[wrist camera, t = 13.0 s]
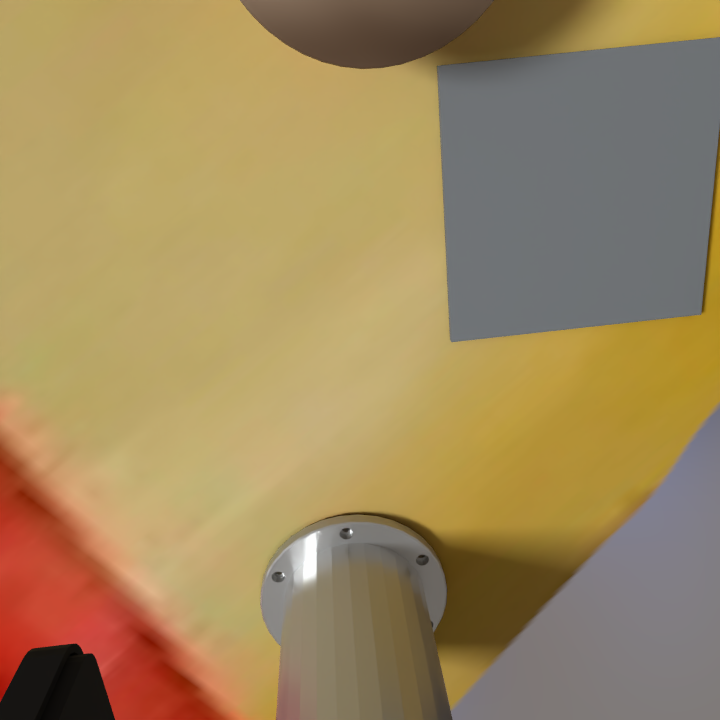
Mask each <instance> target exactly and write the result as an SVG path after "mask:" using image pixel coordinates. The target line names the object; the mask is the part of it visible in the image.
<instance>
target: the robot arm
mask: <svg viewBox="0 0 720 720" xmlns="http://www.w3.org/2000/svg"><path fill="white" fill-rule="evenodd" d="M446 601H447V586H446V580H445V575H444V572H443V569H442V566H441V562H440V560H439V558H438V557H437V555H436V553H435V552H434V550H433V548H432V547H431V546H430V545H429V544H428V543H427V542H426V541H425V540H424V538H423V537H421V536H420V535H419V534H417V533H416V532H414V531H413V530H412V529H410V528H409V527H407V526H404V525H402V524H400V523H398V522H396V521H393V520H390V519H386V518H382V517H378V516H370V515H345V516H337V517H333V518H329V519H325V520H321V521H319V522H317V523H314V524H312V525H310V526H307V527H305V528H303V529H302V530H300V531H299V532H297V533H296V534H294V535H293V536H291V537H290V538H289V539H288V540H287V541H286V542H285V543H284V544H283V545H282V546H280V547H279V548H278V550H277V551H276V553H275V554H274V556H273V557H272V558H271V560H270V561H269V564H268V566H267V568H266V571H265V573H264V576H263V582H262V588H261V603H260V605H261V610H262V616H263V620H264V622H265V624H266V626H267V629H268V631H269V633H270V634H271V635H272V637H273V638H274V639H275V641H276V642H277V643H278V644H279V645H280V646H281V650H280V666H279V682H278V697H277V713H276V720H452V715H451V710H450V706H449V701H448V697H447V692H446V688H445V683H444V679H443V674H442V670H441V665H440V661H439V656H438V652H437V647H436V642H435V638H434V633H433V632H434V631H435V630H436V628H437V626H438V624H439V623H440V621H441V619H442V617H443V613H444V610H445V607H446ZM0 720H115V718H114V715H113V712H112V709H111V705H110V702H109V699H108V696H107V693H106V689H105V686H104V683H103V680H102V677H101V674H100V670H99V667H98V664H97V661H96V659H95V656H94V655H93V654H83V652H82V649H81V647H80V646H79V645H78V644H67V645H59V646H50V647H42V648H34V649H31V650H30V651H28V652H27V654H26V655H25V657H24V658H23V660H22V662H21V664H20V666H19V668H18V670H17V671H16V673H15V675H14V677H13V679H12V681H11V683H10V685H9V687H8V689H7V691H6V692H5V694H4V696H3V698H2V700H1V702H0Z"/></svg>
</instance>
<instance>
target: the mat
mask: <svg viewBox="0 0 720 720" xmlns="http://www.w3.org/2000/svg"><path fill="white" fill-rule="evenodd" d="M437 74H438V95H439V116H440V137H441V158H442V179H443V200H444V221H445V242H446V263H447V284H448V305H449V326H450V340H451V342H457V341H466V340H475V339H484V338H493V337H502V336H511V335H520V334H529V333H538V332H547V331H556V330H565V329H574V328H583V327H592V326H601V325H611V324H620V323H629V322H638V321H647V320H656V319H665V318H674V317H683V316H692V315H701V310H702V300H703V290H704V280H705V269H706V259H707V249H708V239H709V229H710V219H711V208H712V198H713V188H714V178H715V168H716V157H717V147H718V137H719V127H720V37H718V38H708V39H698V40H689V41H679V42H669V43H659V44H649V45H639V46H629V47H619V48H609V49H600V50H590V51H580V52H570V53H560V54H550V55H540V56H530V57H520V58H510V59H501V60H491V61H481V62H471V63H461V64H451V65H441V66H437Z"/></svg>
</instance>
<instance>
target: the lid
mask: <svg viewBox="0 0 720 720" xmlns="http://www.w3.org/2000/svg"><path fill="white" fill-rule="evenodd" d="M240 1H241V2H242V4H243V5H244V6H245V7H246V9H247V10H248V11H249V12H250V14H251V15H252V16H253V17H254V18H255V19H256V20H257V21H258V22H259V23H260V24H261V25H262V26H263V27H264V28H265V29H266V30H267V31H269V32H270V33H271V34H273V35H274V36H275V37H277V38H278V39H279V40H281V41H282V42H283V43H285V44H286V45H288V46H290V47H291V48H293V49H295V50H297V51H298V52H300V53H302V54H304V55H306V56H309V57H311V58H314V59H316V60H319V61H321V62H325V63H329V64H333V65H337V66H341V67H349V68H359V69H369V68H384V67H389V66H395V65H400V64H404V63H406V62H409V61H412V60H415V59H418V58H421V57H424V56H426V55H428V54H430V53H432V52H434V51H436V50H438V49H440V48H442V47H443V46H445V45H446V44H448V43H449V42H451V41H452V40H454V39H455V38H457V37H458V36H459V35H461V34H462V33H463V32H464V31H465V30H466V29H468V28H469V27H470V26H471V25H472V24H473V23H474V22H475V21H477V20H478V18H479V17H480V16H481V15H482V14H483V13H484V12H485V10H486V9H487V8H488V7H489V6H490V5H491V4H492V2H493V1H494V0H240Z"/></svg>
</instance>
